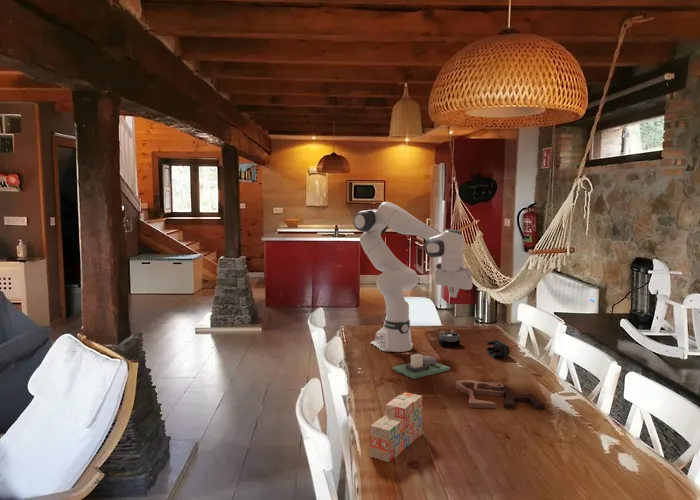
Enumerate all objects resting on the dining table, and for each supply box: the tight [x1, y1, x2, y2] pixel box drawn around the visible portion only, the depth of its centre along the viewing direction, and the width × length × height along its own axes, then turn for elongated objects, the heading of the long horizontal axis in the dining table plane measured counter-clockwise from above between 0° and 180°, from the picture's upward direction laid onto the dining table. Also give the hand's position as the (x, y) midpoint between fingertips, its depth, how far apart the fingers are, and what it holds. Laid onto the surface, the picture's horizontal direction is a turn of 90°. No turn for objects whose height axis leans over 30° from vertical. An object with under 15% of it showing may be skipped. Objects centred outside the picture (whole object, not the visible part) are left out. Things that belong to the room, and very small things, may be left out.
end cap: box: [486, 339, 511, 360], centre depth 238 cm, size 10×7×7 cm
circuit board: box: [392, 354, 451, 380], centre depth 219 cm, size 14×20×4 cm
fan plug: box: [410, 353, 424, 368], centre depth 216 cm, size 3×5×6 cm, turn 122°
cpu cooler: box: [438, 331, 461, 348], centre depth 258 cm, size 10×6×10 cm
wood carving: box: [455, 379, 546, 411], centre depth 189 cm, size 28×2×24 cm
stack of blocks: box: [369, 391, 423, 463], centre depth 150 cm, size 21×6×12 cm, turn 147°
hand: (453, 297), depth 229 cm, fingers closed
